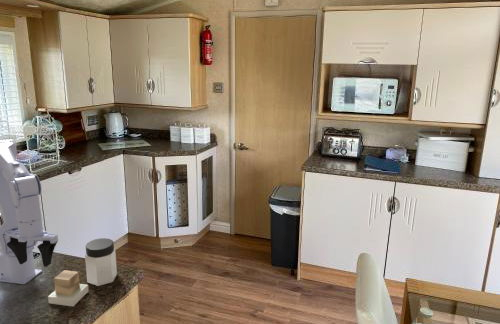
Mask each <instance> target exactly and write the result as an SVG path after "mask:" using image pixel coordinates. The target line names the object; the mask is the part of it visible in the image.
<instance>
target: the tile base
mask: <svg viewBox="0 0 500 324" xmlns="http://www.w3.org/2000/svg"><path fill="white" fill-rule="evenodd" d="M88 293H89V284H86V283H85V284H84V283H80V288H78V289H77V290H76V291H75V292H74V293H73V294H72V295H71V296H66V295H59V294H56V292H55V290H54V291H52V292H51V293H50V294H49V295H48V296H47V299H48V304H51V305H52V304H53V305H60V306H67V307H75V305H76V304H78V302H79V301H80V300H82V299H83V297H85V295H86V294H88Z"/></svg>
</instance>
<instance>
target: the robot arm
mask: <svg viewBox="0 0 500 324" xmlns="http://www.w3.org/2000/svg"><path fill="white" fill-rule="evenodd" d="M16 145H17V144H16V142H15V141H14V140H13V139H11V138H8V139H1V140H0V215H1V218H2V222H3V223H2V224H1V225H0V282H2V283H10V284H11V283H12V284H20V285H25V284H27V283H28V282H30V281H31V280H33V278H35V277H36V276H38V275H39V274H40V273H42V271H43V270H42V269H38V268H36V266H35V258H34V250H35V247H37V249H38V250H39V253H40V255H41V260H42V265H43V266H44V267H45V268H46V267H48V266H49V265H51V264H52V258H53V254H54V251H55V248H56V247H57V246H56V245H57V244H58V242H59V237H58V234H56V233H52V232H49V231H46V230H44V228H43V220H42V213H41V205H40V204H41V203H40V196H41V194H42V184H41V181H40V178H39V176H38V175H37V174H35V173H30V172H29V170H28V168H26V166H25V164H24V163H22V162H21V161H17V155H18V151H17V150H18V149H17V146H16ZM38 242H41V243H40V244H38ZM37 244H38V245H37Z"/></svg>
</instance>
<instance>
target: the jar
mask: <svg viewBox="0 0 500 324" xmlns="http://www.w3.org/2000/svg"><path fill="white" fill-rule="evenodd" d="M116 253H117V252H116V248H115V243H114V240H113V239H110V238H105V237H104V238H101V237H100V238H96V239H93V240H90V241H89V242H87V243H86V245H85V255H84V259H85V270H86V273H85V274H86V282H87V283H89V284H91V285H93V286H94V285H95V286H96V287H99V286H103V285H107V284H111V283H113V282H114V281H115V279H116V277H117V275H118V271H117V255H116Z"/></svg>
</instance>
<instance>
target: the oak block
mask: <svg viewBox="0 0 500 324" xmlns="http://www.w3.org/2000/svg"><path fill="white" fill-rule="evenodd" d="M79 274H80V273H79V271H75V270H74V271H72V270H65V269H64V270H63V271H62V272H60V273H59V274H58V275H56V276H55V277H54V278H53V283H54V291H55V292H56V294H59V295H66V296H71V295H72V294H73V293H74V292H75V291H76V290H77V289H78V288H80V284H81V283H80V275H79Z"/></svg>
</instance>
